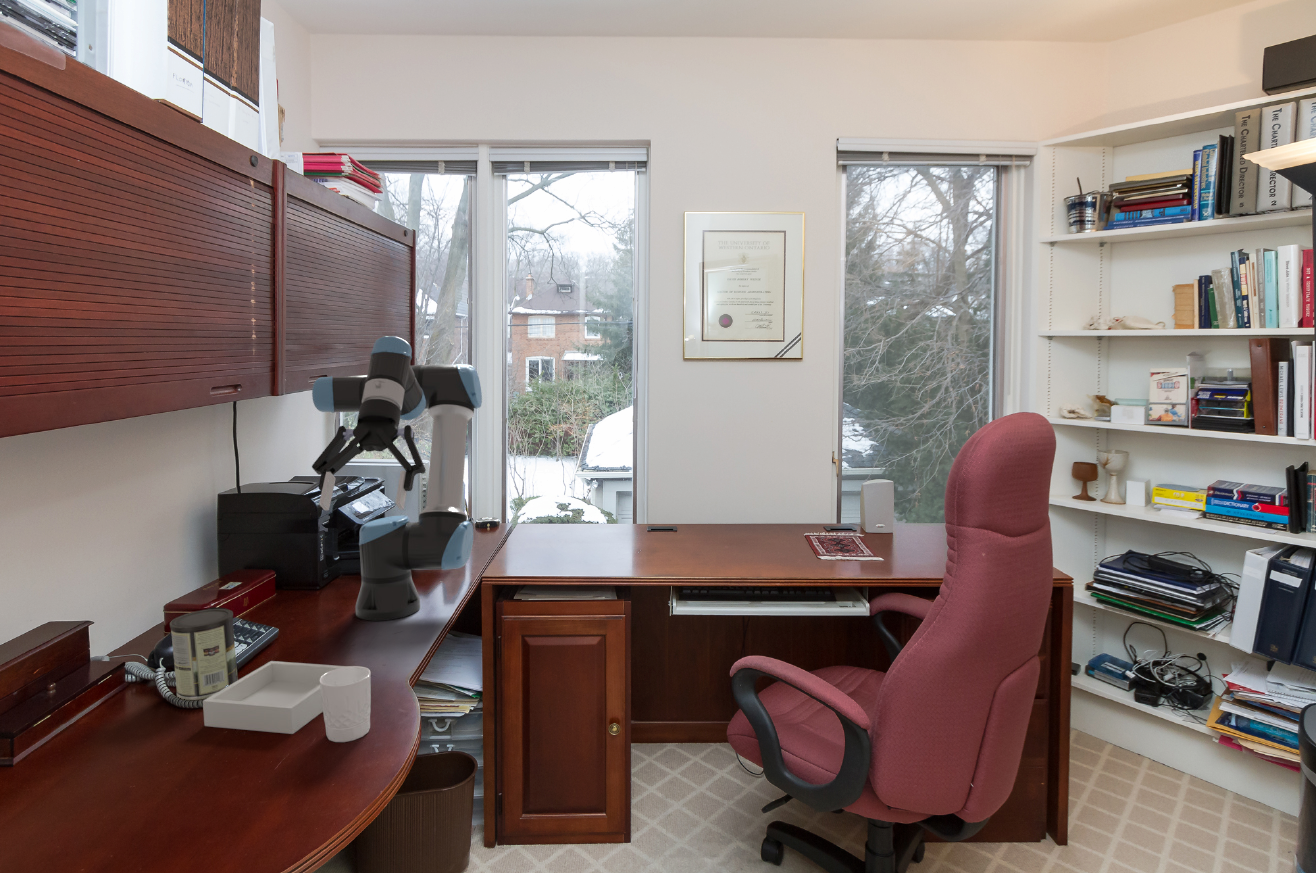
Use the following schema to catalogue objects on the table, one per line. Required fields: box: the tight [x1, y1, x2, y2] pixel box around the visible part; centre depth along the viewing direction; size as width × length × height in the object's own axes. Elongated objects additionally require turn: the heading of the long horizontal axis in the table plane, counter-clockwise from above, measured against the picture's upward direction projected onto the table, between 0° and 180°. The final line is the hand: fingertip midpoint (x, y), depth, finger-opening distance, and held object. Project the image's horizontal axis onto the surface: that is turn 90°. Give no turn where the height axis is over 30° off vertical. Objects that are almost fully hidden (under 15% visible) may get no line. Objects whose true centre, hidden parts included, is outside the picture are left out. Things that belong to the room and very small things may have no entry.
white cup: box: [319, 665, 372, 743], centre depth 125 cm, size 8×8×10 cm
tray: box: [202, 660, 348, 735], centre depth 134 cm, size 17×17×4 cm
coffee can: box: [169, 608, 239, 701], centre depth 142 cm, size 10×10×14 cm
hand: (361, 507), depth 134 cm, fingers open, 13 cm apart
